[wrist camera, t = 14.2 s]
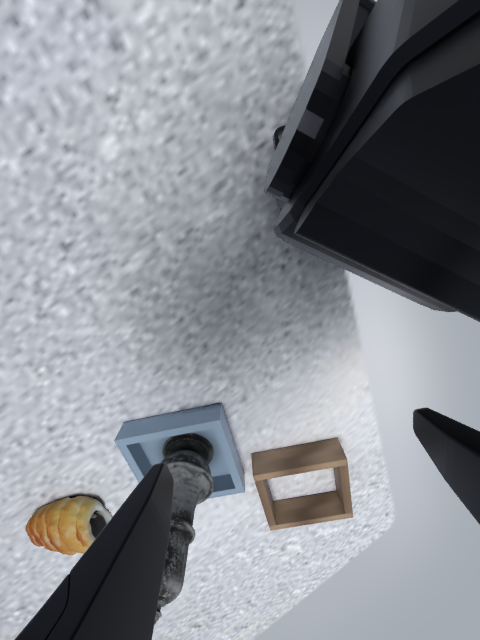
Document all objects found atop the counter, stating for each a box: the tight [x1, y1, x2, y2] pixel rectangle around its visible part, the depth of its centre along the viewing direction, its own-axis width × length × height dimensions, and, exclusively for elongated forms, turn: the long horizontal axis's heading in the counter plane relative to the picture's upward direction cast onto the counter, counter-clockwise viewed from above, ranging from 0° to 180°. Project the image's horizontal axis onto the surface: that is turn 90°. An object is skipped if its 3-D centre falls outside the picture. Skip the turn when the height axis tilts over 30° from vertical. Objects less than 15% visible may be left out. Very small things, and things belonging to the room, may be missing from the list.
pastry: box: [26, 496, 112, 555], centre depth 29 cm, size 9×7×4 cm
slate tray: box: [114, 403, 245, 499], centre depth 26 cm, size 10×10×2 cm
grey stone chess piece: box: [154, 433, 214, 624], centre depth 21 cm, size 6×6×12 cm
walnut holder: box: [252, 438, 353, 531], centre depth 28 cm, size 9×9×2 cm
